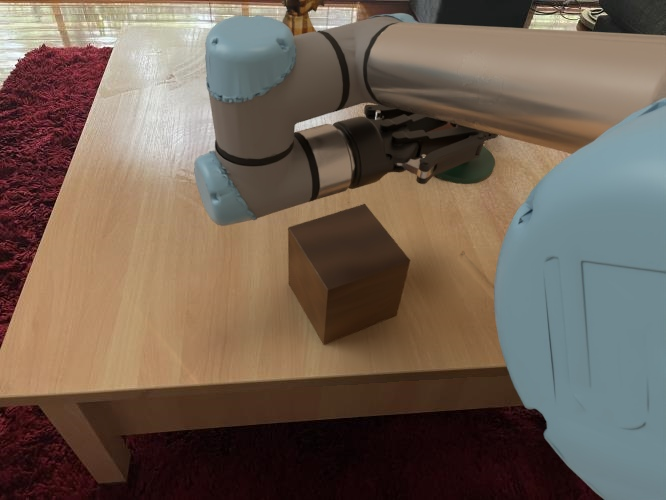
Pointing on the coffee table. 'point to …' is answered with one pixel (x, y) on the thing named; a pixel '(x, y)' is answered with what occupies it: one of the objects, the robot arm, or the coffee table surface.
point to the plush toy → (300, 15)
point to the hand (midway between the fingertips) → (503, 112)
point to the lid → (471, 169)
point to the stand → (345, 271)
